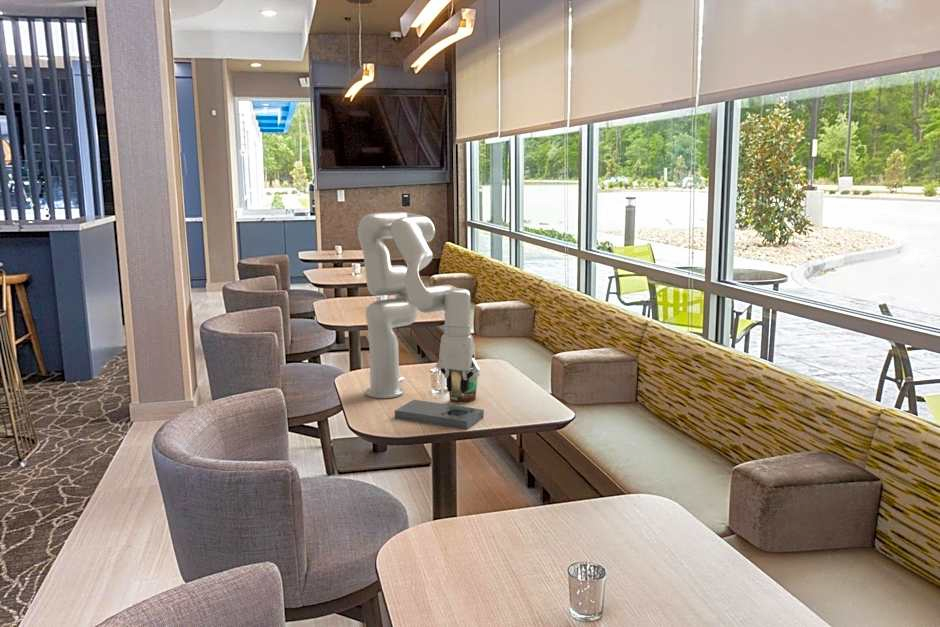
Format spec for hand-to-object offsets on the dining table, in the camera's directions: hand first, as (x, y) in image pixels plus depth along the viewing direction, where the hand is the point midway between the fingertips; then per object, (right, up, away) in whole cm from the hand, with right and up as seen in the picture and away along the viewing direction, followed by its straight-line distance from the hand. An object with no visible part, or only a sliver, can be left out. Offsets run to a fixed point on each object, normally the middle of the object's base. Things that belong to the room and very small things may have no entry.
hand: (457, 390), depth 229 cm
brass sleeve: (0, -1, 0) cm, 1 cm away
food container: (+3, -6, +22) cm, 23 cm away
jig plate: (-6, -9, +4) cm, 11 cm away
